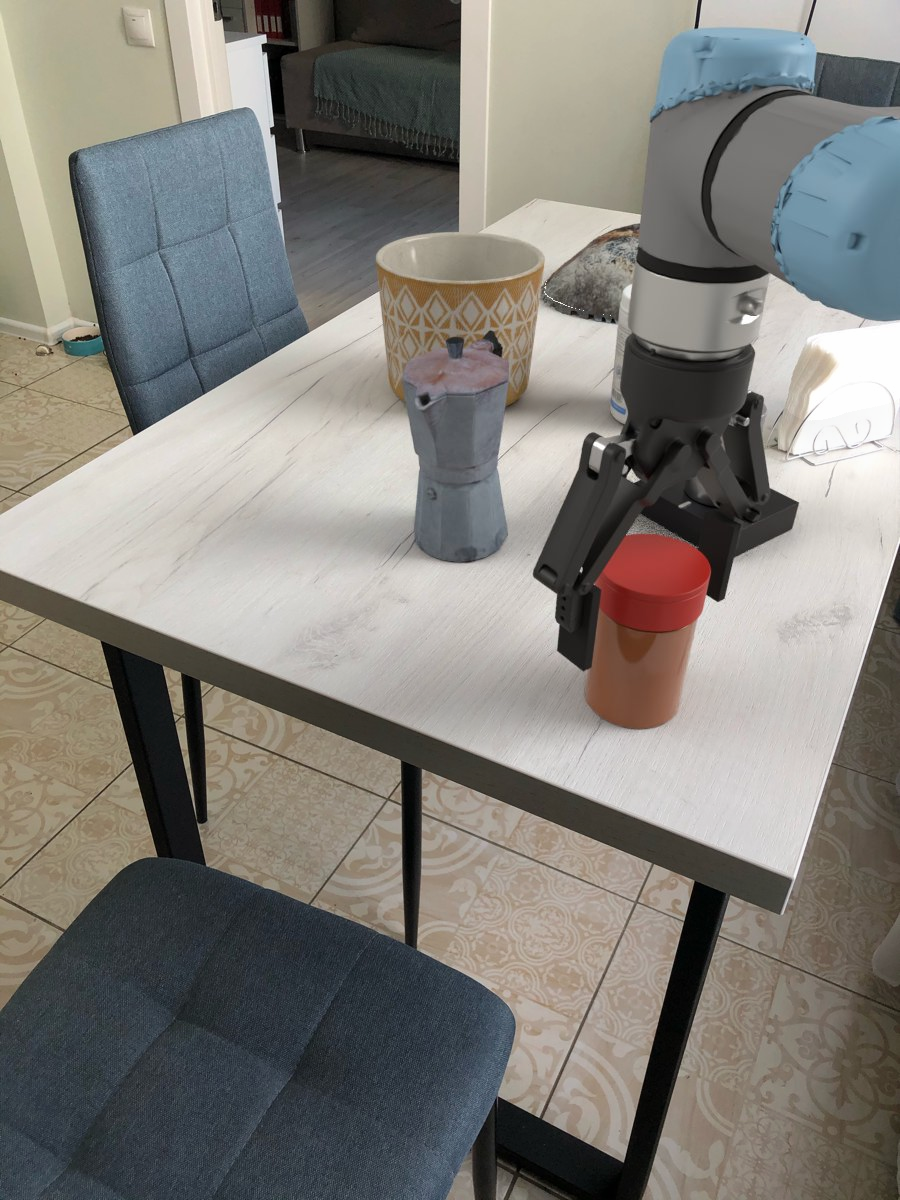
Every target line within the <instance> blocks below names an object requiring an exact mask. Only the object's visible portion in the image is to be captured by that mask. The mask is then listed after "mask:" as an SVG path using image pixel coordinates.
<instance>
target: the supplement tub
mask: <svg viewBox="0 0 900 1200" xmlns="http://www.w3.org/2000/svg"><path fill="white" fill-rule="evenodd" d="M631 289H632V284H631V285H629V286H627V287H626V288H624V290H623V293H622V300H621V302H620V309H619V319H618V324H617V328H616V329H617V330H616V341H615V349H614V351H615V352H614V359H613V360H614V362H613V372H612V383H611V394H610V402H609V403H610V405H609V409H610V413H611V415H612V417H613V418H614V419H615V420H616V421H618V422H619V423H621V424H623V425H625V422H626V419H627V416H628V410H627V407H626V404H625V401H624V399H623V396H622V394H621V391H620V382H621V374H622V365H623V357H624V349H625V341H626V339H627V337H628V336H629V335H630V334H631V333H632V331H631V330H630V329H629V328H628V320H627V319H628V312H629V304H630V297H631Z"/></svg>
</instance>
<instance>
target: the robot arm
mask: <svg viewBox="0 0 900 1200" xmlns="http://www.w3.org/2000/svg"><path fill="white" fill-rule="evenodd" d="M663 51H664V52H663V53H662V54H663V55H662V59H661V65H660V72H659V79H658V83H657V84H658V85H657V91H656V95H655V103H654V106H653V109H652V110H651V111H650V113H649V123H650V128H649V137H648V148H647V155H646V163H645V164H646V165H645V174H644V184H643V192H642V202H641V211H640V221H639V223H640V229H639V238H638V243H639V245H638V251H637V256H636V260H635V267H634V274H633V282H632V289H631V297H630V304H629V312H628V319H627V320H628V328H629V329H630V330H631V331H632V333H631V334H630V335H629V336H628V337H627V339H626V341H625V349H624V357H623V365H622V374H621V382H620V391H621V394H622V396H623V399H624V401H625V404H626V407H627V410H628V416H627V419H626V422H625V424H623V427H622V428H621V431H620V433H619V434H617V435H612V436H609V437H605V436H603V435H601V434H599V433H597V432H594V431H593V432H590V433H588V434H587V435H586V436H585V437H584V439H583V442H582V447H581V452H580V457H579V463H578V469H577V470H576V473H575V476H574V477H573V480H572V482H571V485H570V486H569V488H568V491H567V493H566V496H565V498H564V499H563V502H562V505H561V507H560V509H559V512H558V514H557V516H556V519H555V520H554V523H553V525H552V528H551V530H550V532H549V534H548V536H547V539H546V541H545V543H544V545H543V547H542V550H541V552H540V554H539V556H538V559H537V561H536V564H535V565H534V568H533V570H532V577H533V578H534V579H535V580H536V581H538V582H539V583H541V584H542V585H543V586H545V587H546V588H547V589H548V590H550V591H552V593H554V594H556V600H555V601H556V602H555V611H554V619H555V622H556V623H557V624H558V625H559V626H558V635H557V647H556V652H558V653H559V654H560V655H561V656H562V657H564V658H565V659H566V660H568V661H569V662H570V663H571V664H573V665H574V666H576V668H578V669H579V670H581V671H582V672H583V673H585V672H587V670H588V669H590V668H592V661H593V653H594V645H595V637H596V629H597V621H598V614H599V606H600V598H601V589H600V588H598V587H597V586H595V585H594V584H595V582H596V580H597V579H598V577H599V576H600V574H601V573H602V571H603V570H604V568H605V567H606V565H607V564H608V562H609V560H610V559H611V557H612V556H613V554H614V553H615V551H616V550H617V548H618V547H619V545H620V544H621V542H622V540H623V539H624V537H625V536H626V535H628V533H629V532H630V530H631V528H632V527H633V525H634V524H635V522H636V520H637V519H638V518H639V516H640V515H641V514H640V513H641V511H642V510H643V508H644V507H646V506H651V505H653V504H654V503H655V502H656V501H657V499H658V498H659V496H660V494H661V493H662V491H663V490H665V489H667V488H670V487H672V486H673V485H674V484H676V483H677V482H679V481H680V480H689V479H691V478H694V477H696V476H697V478H698V479H699V481H700V483H701V484H702V486H703V487H704V489H705V491H706V492H707V494H708V495H709V497H710V499H711V500H712V502H713V503H714V505H715V506H716V507H718V508H719V511H718V512H717V511H715V510H713V509H710V510H708V511H705V514H704V519H703V524H702V529H701V534H700V539H699V544H698V547H697V549H698V550H699V551H700V552H701V553H702V554H703V555H704V556H705V557H706V559H707V560H708V562H709V564H710V568H711V574H710V579H709V584H708V588H707V593H706V597H709V598H710V599H712V600H714V601H715V602H716V603H719V602H721V601H723V600H726V595H727V591H728V590H727V589H728V587H729V580H730V578H731V577H730V576H731V572H732V569H733V564H734V558H735V557H734V555H735V551H736V549H737V547H738V543H739V538H740V534H741V529H742V525H743V521H744V522H746V523H748V524H749V525H754V524H756V523H757V521H758V520H759V518H760V516H761V511H760V510H758V509H756V508H754V507H753V506H754V505H755V504H756V503H757V504H759V505H764V504H765V503H766V502H767V501H768V499H769V497H770V488H771V487H770V480H769V474H768V466H767V465H768V464H767V459H766V453H765V445H764V440H763V439H764V438H763V431H761V424H760V423H761V417H762V410H763V403H764V404H765V397H764V396H763V395H762V394H759V393H757V392H754V391H753V390H750V389H749V386H750V381H751V376H752V371H753V367H754V362H755V358H756V350H755V348H754V346H753V344H752V343H754V342H755V340H757V339H758V338H759V335H760V330H761V324H762V320H763V315H764V309H765V304H766V300H767V299H766V298H767V293H768V289H769V283H770V278H771V275H772V276H774V277H776V278H778V279H779V280H781V281H782V282H784V283H786V284H788V285H789V286H791V287H792V288H795V290H796V291H797V293H800V294H803V295H804V296H805V297H806V298H807V299H809V300H810V301H812V302H819V303H821V304H822V305H823V306H824V307H826V308H829V309H834V310H838V311H843V312H846V313H848V314H851V315H853V316H856V317H859V318H861V319H864V320H868V321H872V322H873V321H875V322H894V321H900V106H881V107H879V106H863V105H855V104H850V103H845V102H841V101H838V100H837V101H836V100H831V99H827V98H824V97H820V96H817V95H814V89H815V86H816V83H815V72H816V62H817V55H818V51H817V48H816V45H815V43H814V42H813V40H812V39H811V38H810V37H809V36H807V35H806V34H804V33H801V32H797V31H793V30H786V29H774V28H762V27H740V26H738V27H735V26H734V27H733V26H731V27H730V26H729V27H727V26H726V27H725V26H720V27H719V26H717V27H702V28H692V29H688V30H687V29H686V30H684V31H682V32H679V33H678V34H676V35H675V36H674V37H672V39H671V40H670V41H669V42H668V43H667V45H666V47H665V49H664V50H663ZM721 436H722V437H723V442H724V447H725V450H724V449H723V447H722V445H721V444H722V441H721V439H720V438H721ZM631 470H632V472H633V474H634V476H635V477H636V478H637V479H638V480H642V481H644V482H645V483H646V485H645V486H639V485H637V484H635V482H633V481H632V480H630V479H628V475H629V474H630V472H631Z"/></svg>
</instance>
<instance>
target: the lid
mask: <svg viewBox="0 0 900 1200" xmlns="http://www.w3.org/2000/svg"><path fill="white" fill-rule="evenodd" d="M710 574H711V568H710V564H709V562H708V560H707V559H706V557H705V556H704V555H703V554H702V553H701V552H700V551H699V550H698V548H697V547H696V546H693V544H691V543H688V542H687V541H683V540H681V539H678V538H675V537H672V536H669V535H663V534H657V533H631V534H626V536H625V537H624V539H623V540H622V542H621V544H620V545H619V547H618V548H617V550H616V551H615V553H614V554H613V556H612V557H611V559H610V560H609V562H608V564H607V565H606V567H605V568H604V570H603V571H602V573H601V574H600V576H599V577H598V579H597V580H596V582H595V584H594V585H595V586H597V587H598V588H600V589H601V598H600V606H599V608H600V610H601V611H602V612H603V613H604V614H606V615H607V616H608V617H609V618H611V619H613V620H614V621H616V622H618V623H620V624H623V625H625V626H628V627H631V628H634V629H639V630H645V631H656V632H658V631H671V630H677V629H680V628H683V627H686V626H688V625H690V624H691V623H693V622H694V621H696V620H697V621H698V619H699V618H700V617H701V615H702V613H703V611H704V606H705V602H706V598H707V595H706V593H707V588H708V584H709V579H710Z"/></svg>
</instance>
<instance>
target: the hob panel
mask: <svg viewBox="0 0 900 1200" xmlns="http://www.w3.org/2000/svg"><path fill="white" fill-rule="evenodd" d="M685 481H686V480H680V481H679V482H677V483H676V484H674V485H673V486H672V487H670V488H667V489H665V490H663V491H662V493H661V494H660V496H659V498H658V499H657V501H656V502H655V503H654V504H653V505H651V506H646V507H644V508H643V510H642V511H641V513H640V514H639V515H641V516H643V517H646V518H647V519H649V520H651V521H652V522H654V523H656V524H658V525H659V526H661V527H663V528H664V529H666V530H668V531H669V532H671V533H673V534H674V535H677V536H678V537H680V538H681V539H683V540H685V541H686V542H687V543H688V542H689V544H691V545H694V547H696V548H698V544H699V539H700V534H701V529H702V524H703V519H704V514H705V511H708V510H710V509H713V510H715V511H717V512H718V511H719V508H718V507H714V506H709V505H705V504H702V503H699V502H697V501H695V500H693V499H692V498H691V497H689V496H688V495H687V493H686V492H685ZM634 483H635V484H637V485H639V486H645V485H646V483H645V482H644V481H642V480H640V479H638V480H637V481H635V482H634ZM799 505H800V502H799V501H797V500H795V499H793V498H791V497H789V496H787V495H785V494H783V493H781V492H779V491H777V490H775V489H773V488H771V487H770V497H769V499H768V501H767V502H766V503H765V504H764V505H759V504H757V503H756V504H755V505H754V506H753V507H754V508H756V509H758V510H760V511H761V516H760V518H759V520H758V521H757V523H756V524H754V525H749V524H748V523H746V522H744V521H743V525H742V529H741V534H740V538H739V543H738V547H737V549H736V551H735V555H734V558H736V557H738V556H740V555H742V554H745V553H746V552H748V551H751V550H753V549H754V548H756V547H759V546H761V545H762V544H765V543H767V542H769V541H772V540H773V539H775V538H777V537H779V536H781V535H783V534H785V533H787V532H789V531H791V530H793V529H794V528H793V527H794V524H795V521H796V517H797V512H798V510H799Z"/></svg>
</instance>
